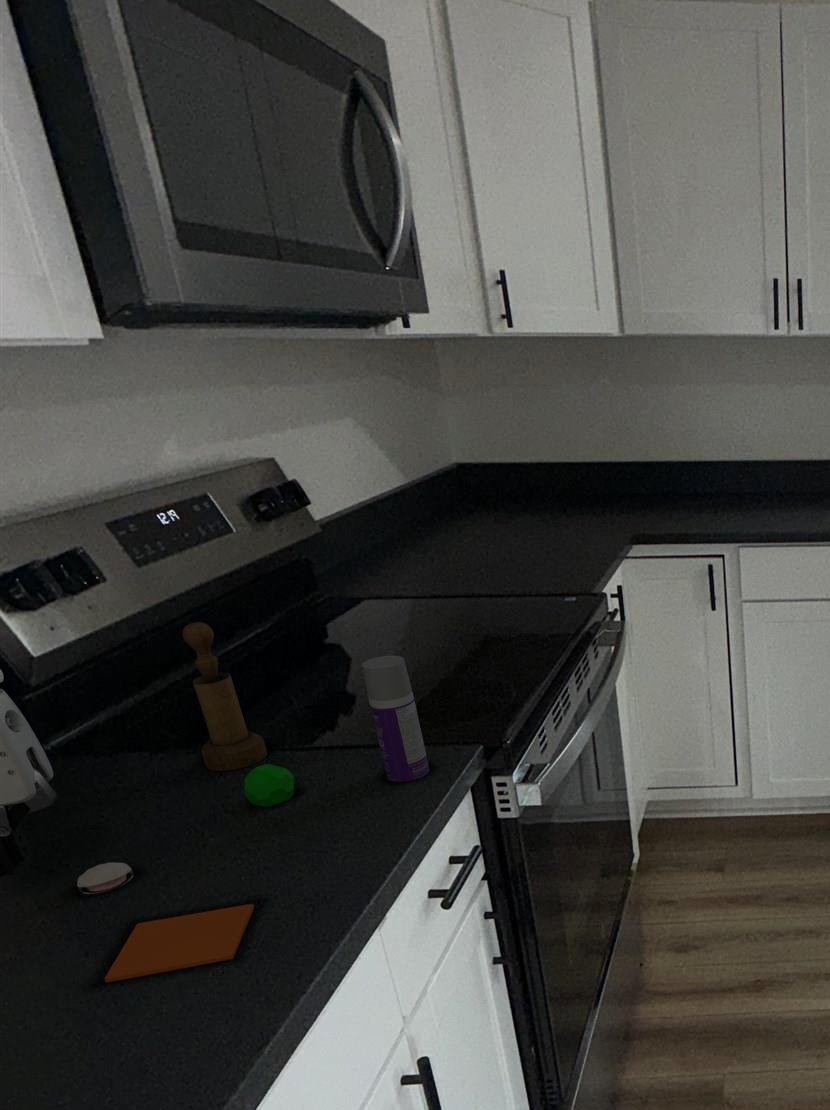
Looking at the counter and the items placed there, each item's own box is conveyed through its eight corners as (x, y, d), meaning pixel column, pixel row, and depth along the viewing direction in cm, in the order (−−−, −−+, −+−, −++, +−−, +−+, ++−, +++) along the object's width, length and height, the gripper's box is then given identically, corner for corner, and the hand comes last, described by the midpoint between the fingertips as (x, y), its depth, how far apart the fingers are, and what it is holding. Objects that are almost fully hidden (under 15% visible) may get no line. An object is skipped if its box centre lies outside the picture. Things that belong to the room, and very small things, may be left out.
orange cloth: (98, 992, 76) (94, 982, 76) (135, 930, 84) (131, 921, 84) (237, 966, 80) (233, 956, 79) (260, 909, 87) (257, 899, 87)
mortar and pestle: (221, 776, 113) (175, 635, 105) (196, 763, 116) (150, 626, 108) (277, 756, 118) (237, 620, 110) (251, 744, 121) (211, 612, 113)
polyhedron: (300, 808, 105) (289, 770, 103) (250, 819, 103) (237, 781, 101) (299, 790, 109) (288, 754, 107) (250, 800, 107) (238, 763, 105)
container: (379, 783, 111) (350, 665, 105) (409, 767, 115) (383, 653, 109) (409, 789, 109) (381, 671, 103) (439, 773, 113) (414, 657, 107)
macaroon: (85, 905, 88) (76, 883, 87) (76, 885, 91) (67, 863, 90) (140, 887, 91) (131, 865, 90) (129, 868, 94) (120, 847, 93)
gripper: (51, 663, 85) (120, 835, 93) (-156, 685, 81) (-64, 864, 88) (14, 691, 79) (92, 873, 86) (-213, 717, 74) (-109, 906, 82)
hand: (13, 868), depth 87 cm, fingers closed
